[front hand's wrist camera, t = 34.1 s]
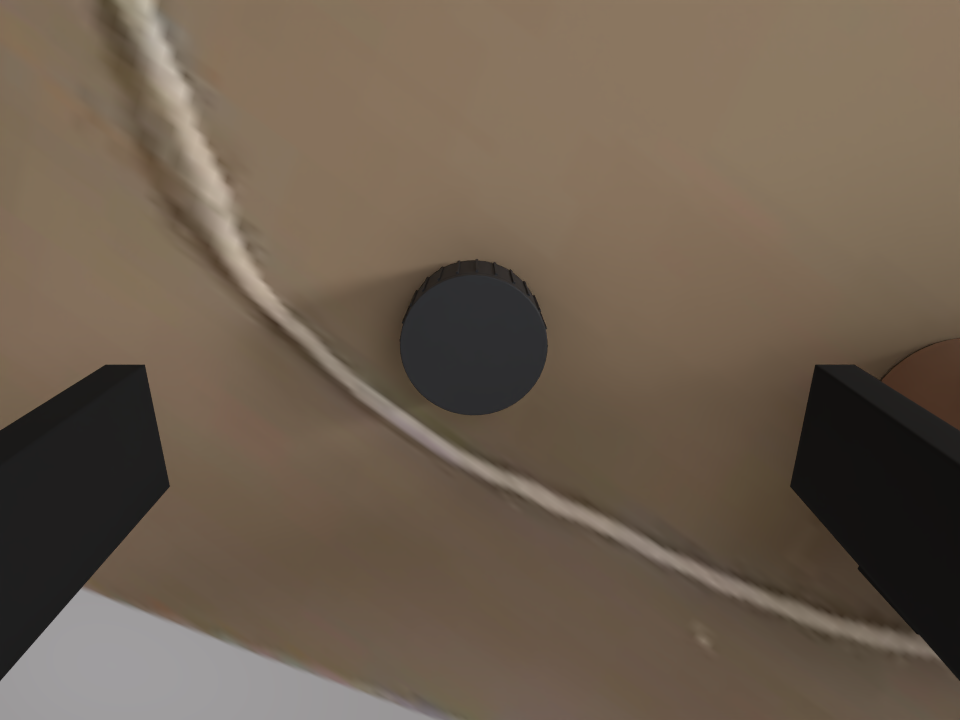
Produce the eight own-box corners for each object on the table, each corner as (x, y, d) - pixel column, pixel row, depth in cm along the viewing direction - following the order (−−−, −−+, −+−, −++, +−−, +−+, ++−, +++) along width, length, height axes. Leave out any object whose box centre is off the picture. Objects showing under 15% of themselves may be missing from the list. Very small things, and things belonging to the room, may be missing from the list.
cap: (563, 293, 21) (575, 312, 19) (505, 406, 23) (508, 438, 20) (440, 235, 21) (434, 247, 18) (387, 355, 22) (375, 382, 20)
